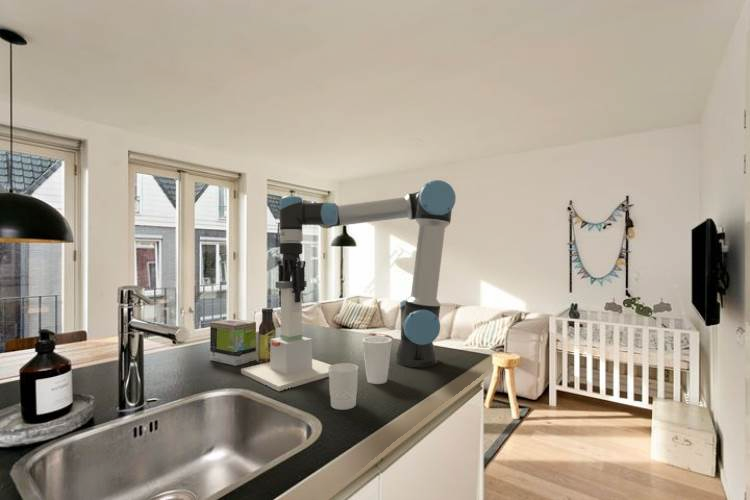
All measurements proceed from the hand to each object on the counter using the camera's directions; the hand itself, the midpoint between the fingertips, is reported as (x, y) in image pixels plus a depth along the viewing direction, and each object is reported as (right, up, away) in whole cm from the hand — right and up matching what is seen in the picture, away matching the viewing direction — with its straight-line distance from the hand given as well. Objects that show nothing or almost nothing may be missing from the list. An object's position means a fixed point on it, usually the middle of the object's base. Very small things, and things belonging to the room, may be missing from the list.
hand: (291, 311), depth 128 cm
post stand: (0, -21, 0) cm, 21 cm away
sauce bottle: (-12, -21, +13) cm, 28 cm away
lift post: (0, -12, 0) cm, 12 cm away
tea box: (-26, -21, +15) cm, 37 cm away
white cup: (+20, -21, -27) cm, 40 cm away
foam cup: (+29, -21, -8) cm, 37 cm away
